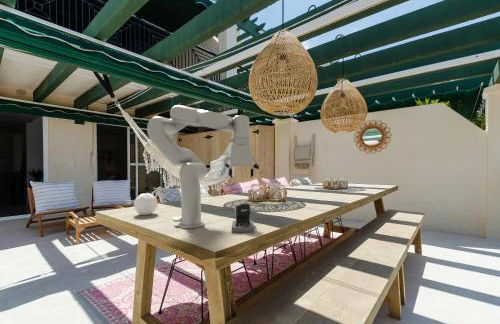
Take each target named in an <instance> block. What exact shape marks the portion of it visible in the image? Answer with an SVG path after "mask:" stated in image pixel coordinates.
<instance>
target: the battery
mask: <svg viewBox="0 0 500 324" xmlns="http://www.w3.org/2000/svg"><path fill="white" fill-rule="evenodd" d="M234 208H235V210H234V214H235V216H234V217H235V221H236V227H245V226H250V223H249V220H250V215H251V213H252V212H251V205H250V204H249V203H248V202H241V203H237V204H235V207H234Z"/></svg>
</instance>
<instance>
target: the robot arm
mask: <svg viewBox="0 0 500 324" xmlns="http://www.w3.org/2000/svg"><path fill="white" fill-rule="evenodd" d="M169 111H170V112H169V114H170V115H169V116H170V118H169V117H168V118H167V117H163V116H153V117H152V118H150V119H149V121H147V122H148V123H147V126H146V127H147V128H146V132H147V135H148V138H149V140H150V141H151V142H152V143H153V145H154V146H156V148H157V149H158V150H159V151H160V152H161V153H162V154H163V156H164V157H165V158H166V159H167V161H168V162H169V163H170V164H171V165H173V166H176V167H180V169H179V172H178V176H179V180H180V182H179V183H180V194H181V195H180V196H181V197H180V201H181V203H180V204H181V216H179V217H177V216H176V217H175V216H173V219H172V221H173V222H176V223H177V222H178V227H179V228H181V229H197V228H201V227H203V226H204V225H205V221H203V220H202V201H201V200H202V198H201V197H202V194H201V193H202V192H201V191H202V190H201V183H200V180H203V179H204V178H205V177H206V176H207V174H208V169H207V167H206V165H205V163H204V162H203V161H202V160H201V158H199V156H198V155H196V154H195V153H194V152H193V151H192V150H191V149H190V148H186V147H181V146H180V145H178V144H177V143H176V141H175V140H174V139H173V138H171V135H174V134H176V133H178V132H179V131H181V130H183V129H184V128H185V127H187V126H189V125H190V126H194V127H199V128H200V127H206V128H210V129H213V130H219V131H223V132H226V133H231V132H233V133H232V135H233V138H232V139H229V140H230V141H229V142H230V143H232V144H231V148H230V156H229V157H226V158H225V159H223V160H222V162H223V163H224V166H225V167H226V168H227V169H228V176H229V177H230V179H231V178H233V166H249V167H250V179H252V178H253V177H254V169H255V168H256V167H257V166H258V165H259V163H260V159H258V158H256V157H254V156H253V154H252V145H251V144H250V118H249V116H247V115H243V114H240V115H235V116H234V117H233V116H230V115H228V114H224V113H221V112H216V111H215V112H214V111H211V110H205V109H201V108H197V107H196V108H195V107H191V106H185V105H180V104H177V105H174V106H172V107H171V109H169ZM228 161H230V165H229V164H228ZM253 161H255V163H254V164H252V163H253Z"/></svg>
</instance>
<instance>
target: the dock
mask: <svg viewBox="0 0 500 324" xmlns="http://www.w3.org/2000/svg"><path fill="white" fill-rule="evenodd" d="M249 223H250V226H245V227H236V220H232V224H231V234H254V233H255V227H254V220H253V219H251V220H250V219H249Z"/></svg>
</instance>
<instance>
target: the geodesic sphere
mask: <svg viewBox="0 0 500 324" xmlns="http://www.w3.org/2000/svg"><path fill="white" fill-rule="evenodd" d="M133 207H134V210H135V212H136V213H137V214H139V215H142V216H148V215H152V214H153V213H154V212H155V211H156V210H157V207H158V199H157V198H156V197H155V195H154V194H153V193H152V192H150V193H149V192H145V193H140V194H139V195H138V196H137V197H136V198H135V200H134V201H133Z"/></svg>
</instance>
